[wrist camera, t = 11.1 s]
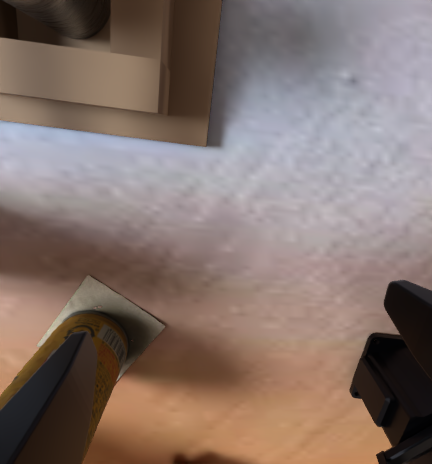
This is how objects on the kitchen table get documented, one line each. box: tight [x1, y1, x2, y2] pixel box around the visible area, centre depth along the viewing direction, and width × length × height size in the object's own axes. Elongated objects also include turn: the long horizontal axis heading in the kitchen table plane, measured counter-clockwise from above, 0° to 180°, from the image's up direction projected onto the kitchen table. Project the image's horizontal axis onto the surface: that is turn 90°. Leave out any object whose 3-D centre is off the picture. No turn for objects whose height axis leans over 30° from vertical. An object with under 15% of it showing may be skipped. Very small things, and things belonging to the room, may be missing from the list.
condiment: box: [0, 275, 165, 462], centre depth 19 cm, size 7×8×12 cm
